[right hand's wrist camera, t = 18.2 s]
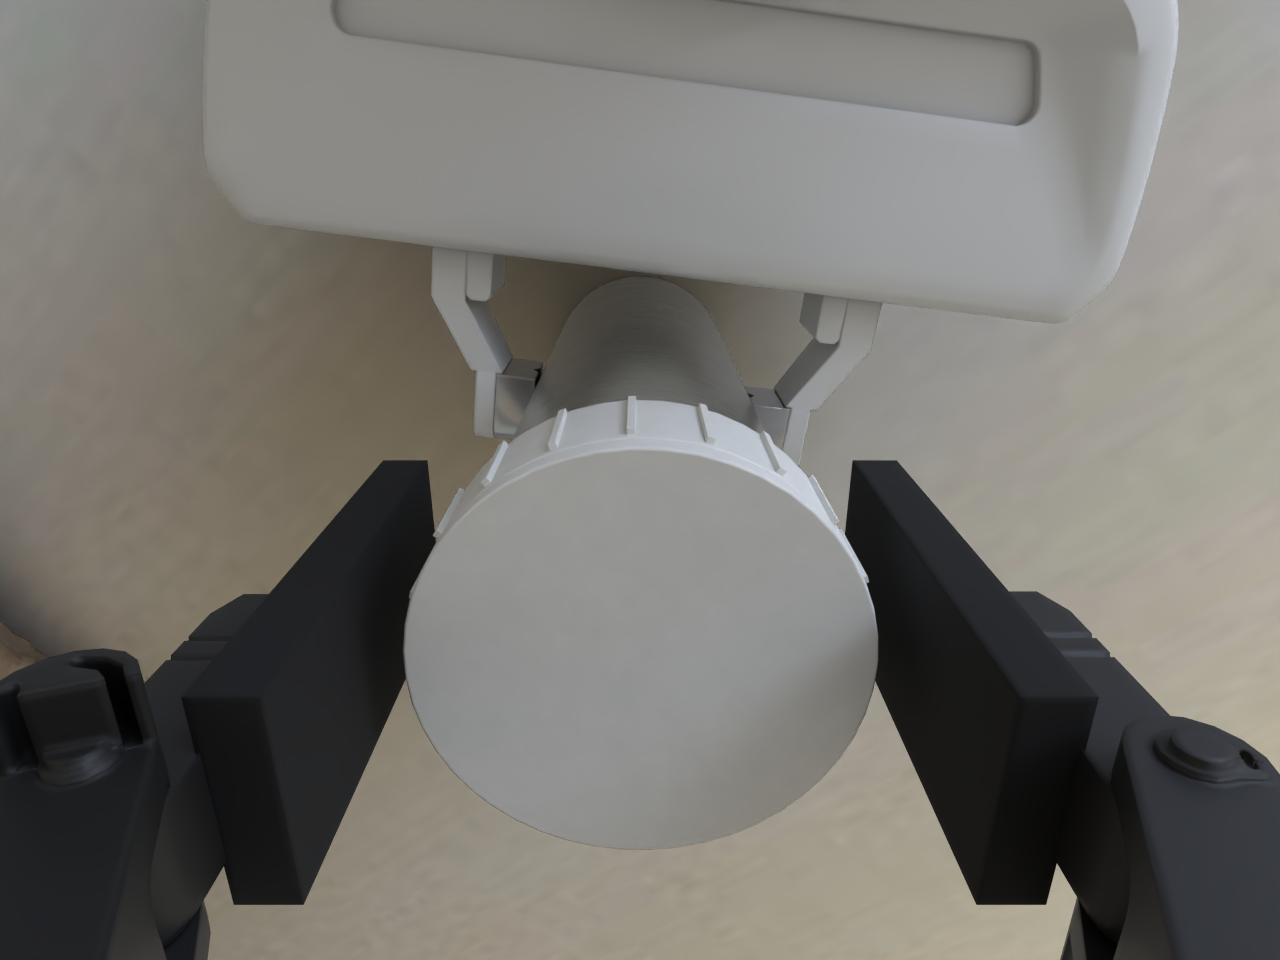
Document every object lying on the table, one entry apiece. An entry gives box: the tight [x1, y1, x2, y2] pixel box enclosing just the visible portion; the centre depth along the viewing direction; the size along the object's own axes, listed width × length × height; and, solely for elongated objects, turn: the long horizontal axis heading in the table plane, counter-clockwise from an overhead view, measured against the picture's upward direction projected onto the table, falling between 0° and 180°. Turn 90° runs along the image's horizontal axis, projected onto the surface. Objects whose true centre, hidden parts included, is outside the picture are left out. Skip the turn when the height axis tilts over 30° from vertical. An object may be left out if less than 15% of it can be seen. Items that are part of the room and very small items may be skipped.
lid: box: [403, 396, 878, 850], centre depth 11 cm, size 6×6×2 cm
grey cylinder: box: [512, 276, 765, 441], centre depth 19 cm, size 5×5×17 cm
